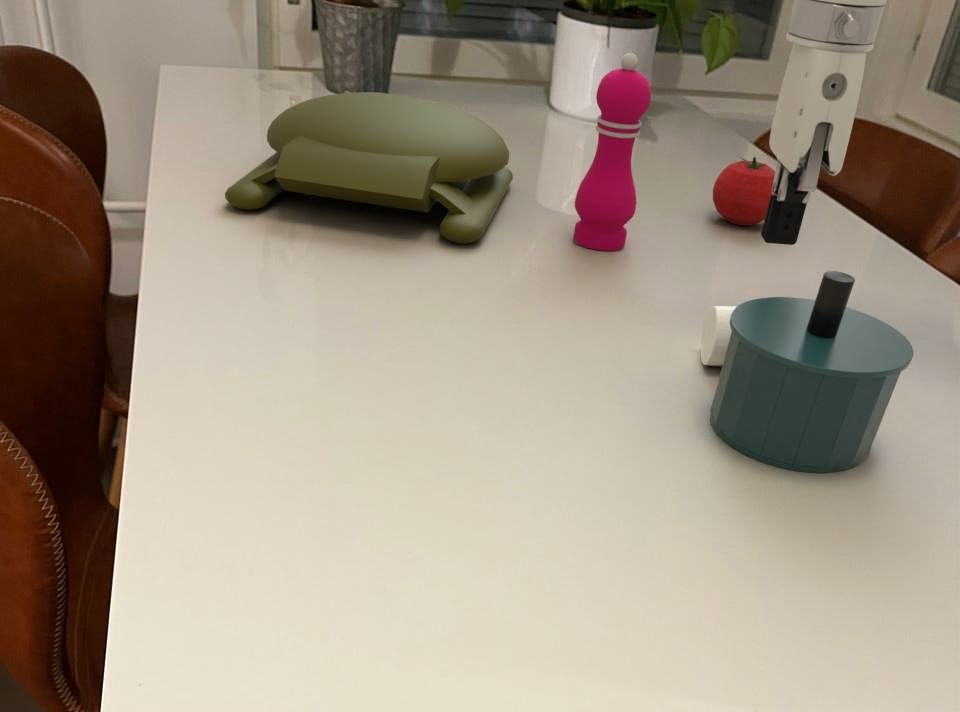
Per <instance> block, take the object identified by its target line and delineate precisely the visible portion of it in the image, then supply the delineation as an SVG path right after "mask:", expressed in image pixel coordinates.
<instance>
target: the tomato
mask: <svg viewBox="0 0 960 712" xmlns="http://www.w3.org/2000/svg"><path fill="white" fill-rule="evenodd" d="M739 158H740V159H741V160H739V161H736V162H732V163H729V164H728V165H727V166H726V167H725V168H724V169H722V171H720V173H719V175H718V176H717V178H716V180H715V182H714V184H713V187H712V202H713V204H714V207H715V210H716V211H717V213H718V214H719V215H720V216H721V217H722V218H723V219H724V220H726V221H727V222H729V223H732V224H734V223H735V224H734V225H737V224H739V225H738V226H754V225H757V224H760V223H762V222H764V220H765V216H766V212H767V208H768V204H769V200H770V196H771V195H776V194H772V186H773V181H774V176H775V172H776V169H773V168H772V167H771V166H769V165H768V164H767V163H763V162H759V161H757V157H756V156H753V158H752V160H747V159H746V158H745V159H744V158H743V157H741V156H739ZM776 196H777V195H776Z"/></svg>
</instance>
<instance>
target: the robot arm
mask: <svg viewBox="0 0 960 712" xmlns="http://www.w3.org/2000/svg"><path fill="white" fill-rule="evenodd" d="M886 4H887V0H793V5H792V9H791V13H790V17H789V22H788V26H787V31H786V35H785V40H786V41H787V42H789V43H792V44H793V45H792V48H791V52H790V55H789V57H788V59H787V65H786V68H785V72H784V76H783V79H782V83H781V86H780V90H779V94H778V98H777V101H776V106H775V110H774V114H773V119H772V123H771V128H770V134H769V142H768V143H769V144H768V145H769V148H770V150H771V152H772V153H773V154H774V156H775V157H776V167H775V171H776V172H775V176H774V181H773V186H772V194H776V195H777V196H776V195H771V196H770V200H769V204H768V208H767V212H766V216H765V220H763V224H762V229H761V233H760V236H761V238H762V239H763V242H764V243H766V244H775V245H787V246H793V245H795V244H797V241H798V238H799V235H800V232H801V227H802V224H803V219H804V216H805V212H806V209H807V204H808V202H809V201H810V200H809V199H810V196H811V194H812V193H814V192H816V190H817V186H818V182H819V176H820V171H821V168H822V169H823V170H824V171H825V172H826V173H827V174H828V175H829V176H832V177H835V176H837V175H838V174H839V173H841V171H842V168H843V165H844V163H845V158H846V154H847V150H848V146H849V142H850V138H851V134H852V129H853V125H854V121H855V117H856V113H857V109H858V104H859V99H860V94H861V90H862V85H863V79H864V74H865V67H866V60H867V52H872V51H873V50H874V46H875V42H876V38H877V35H878V32H879V29H880V25H881V21H882V17H883V14H884V10H885V7H886Z"/></svg>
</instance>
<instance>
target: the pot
mask: <svg viewBox="0 0 960 712" xmlns="http://www.w3.org/2000/svg"><path fill="white" fill-rule="evenodd" d="M901 372H902V371H901ZM901 372H899V373H896V374H894V375H890V376H885V377H879V378H844V377H836V376H828V375H823V374H817V373H813V372H809V371H805V370H801V369H797V368H794V367H791V366H788V365H785V364H782V363H779V362H777V361H774V360H772V359H770V358H768V357H765V356H763V355H761V354H759V353H758V352H756V351H754V350H752V349H751V348H749V347H748V346H746V345H745V344H744V343H743V342H741V341H740V340H739V339H738V338H737V337H736V336H735V335H734V333H733V331H732V333H731V336H730V340H729V344H728V347H727V351H726V355H725V359H724V362H723V366H721V370H720V373H719V377H718V381H717V384H716V389H715V392H714V396H713V400H712V404H711V407H710V411H709V413H710V415H709V416H710V418H709V421H710V425H711V427H712V428H713V431H714V433H715V434H716V435H717V436H718V437H719V438H720V439H721V440H722V441H723V442H725V443H726V445H728V446H730V447H731V448H733V449H734V450H735V451H737V452H739V453H741V454H743V455H745V456H747V457H749V458H751V459H753V460H756V461H759V462H760V463H764V464H766V465H770V466H773V467H777V468H781V469H786V470H790V471H794V472H795V471H796V472H803V473H820V474H821V473H823V474H826V473H827V474H828V473H836V472H842V471H846V470H850V469H853V468H854V467H856V466H859V465H860V464H861V463H862V462H863V461H864V460H865V459H866V458H867V457H868V455H870V451H871V450H872V447H873V443H874V441H875V439H876V436H877V433H878V431H879V429H880V426H881V424H882V420H883V418H884V415H885V414H886V410H887V408H888V406H889V403H890V400H891V398H892V395H893V393H894V390H895V388H896V385H897V383H898V380H899V378H900V375H901Z"/></svg>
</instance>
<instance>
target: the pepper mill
mask: <svg viewBox="0 0 960 712" xmlns="http://www.w3.org/2000/svg"><path fill="white" fill-rule="evenodd" d="M620 61H621V63H620V65H621V68H616V69H613V70H610V71H609V72H607V73H605V75H604V76H603V78H601V80H600V82H599V84H598V87H597V90H596V95H595V97H596V98H595V99H596V104H597V107H598V109H599V111H600V115H598V116H597V118H596V120H597V123H596V126H595V131H597V132H598V139H597V146H596V151H595V154H594V157H593V160H592V163H591V164H590V166H589V168H588V170H587V172H586V173H585V175H584V177H583V178H582V181H581V182H580V183H579V186H578V189H577V192H576V194H575V198H574V209H575V211H576V214H577V216H578V217H579V218H580V219H579V220H578V221H576V222H575V225H574V232H573V240H574V242H575V243H577V244H578V245H579V246H581V247H584V248H587V249H590V250H594V251H603V252H604V251H605V252H612V251H618V250H619V251H620V250H621V249H622V248H624V247H625V245H626V240H627V235H628V230H627V228H626V227H625V226H626V224H628V222H630V221H631V219H633V217H634V215H635V213H636V208H637V191H636V186H635V181H634V177H633V171H632V157H633V150H634V144H635V142H636V141H635V140H636V138H638V137H639V136H640V135H641V131H640V130H641V127H642V121H641V120H640V118H641V117H642V116H643V115H644V114H645V113H646V112H647V111H648V109H649V107H650V104H651V100H652V89H651V88H652V87H651V85H650V83H649V80H648V78H647V76H645V75H644V74H643V73H642V72H640V71H638V70H636V69H637V67H638V64H639V63H638V62H639V60H638V57H637V55H636V54H634V53H633V52H627V53H625V54H624V55H623V57H622V58H621V60H620Z"/></svg>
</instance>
